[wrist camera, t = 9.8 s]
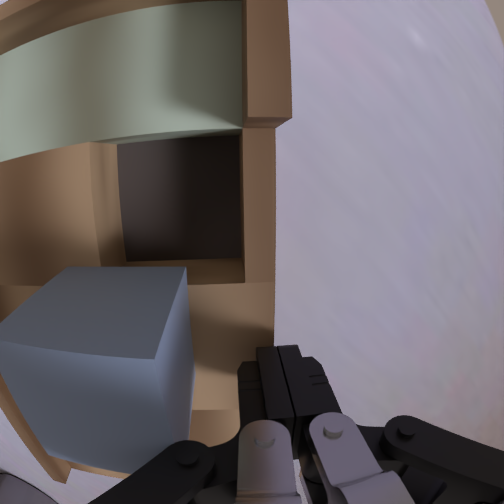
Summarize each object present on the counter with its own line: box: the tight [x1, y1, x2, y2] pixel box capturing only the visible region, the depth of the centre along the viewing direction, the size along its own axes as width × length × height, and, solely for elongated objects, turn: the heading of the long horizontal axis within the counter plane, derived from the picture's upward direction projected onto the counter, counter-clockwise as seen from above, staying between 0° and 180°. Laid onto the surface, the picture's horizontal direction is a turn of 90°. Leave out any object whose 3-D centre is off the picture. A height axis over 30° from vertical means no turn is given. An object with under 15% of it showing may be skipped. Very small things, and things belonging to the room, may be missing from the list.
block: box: [0, 267, 196, 474], centre depth 8 cm, size 4×4×5 cm
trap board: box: [0, 0, 292, 484], centre depth 10 cm, size 14×24×6 cm, turn 1°
